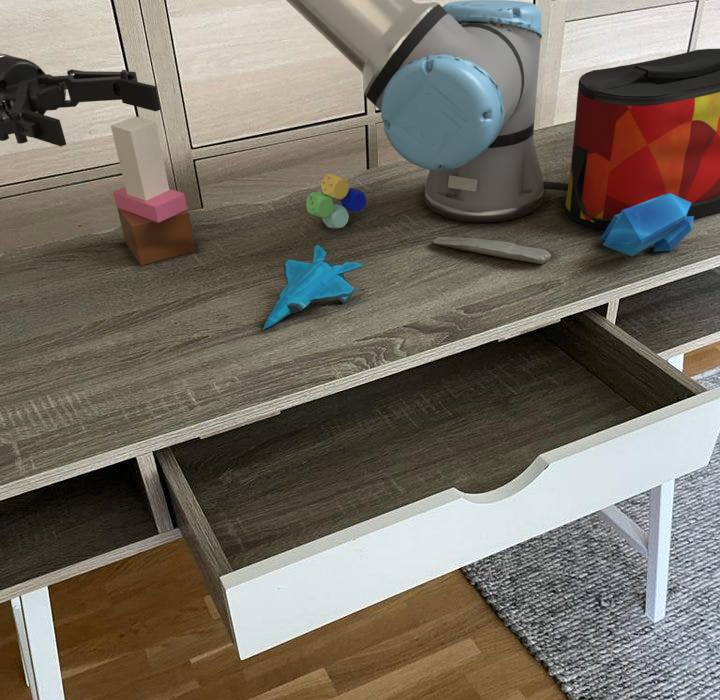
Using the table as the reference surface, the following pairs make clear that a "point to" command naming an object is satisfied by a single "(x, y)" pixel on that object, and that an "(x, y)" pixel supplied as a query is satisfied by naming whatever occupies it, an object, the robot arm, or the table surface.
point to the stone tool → (496, 248)
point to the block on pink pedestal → (144, 172)
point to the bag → (647, 137)
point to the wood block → (157, 236)
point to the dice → (327, 209)
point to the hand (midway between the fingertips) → (110, 115)
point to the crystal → (650, 225)
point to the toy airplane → (311, 284)
